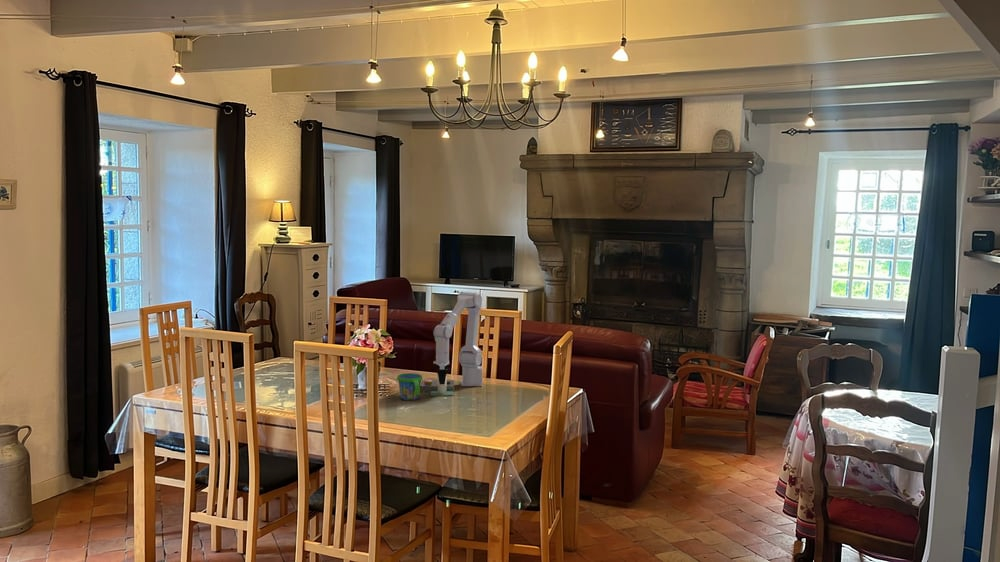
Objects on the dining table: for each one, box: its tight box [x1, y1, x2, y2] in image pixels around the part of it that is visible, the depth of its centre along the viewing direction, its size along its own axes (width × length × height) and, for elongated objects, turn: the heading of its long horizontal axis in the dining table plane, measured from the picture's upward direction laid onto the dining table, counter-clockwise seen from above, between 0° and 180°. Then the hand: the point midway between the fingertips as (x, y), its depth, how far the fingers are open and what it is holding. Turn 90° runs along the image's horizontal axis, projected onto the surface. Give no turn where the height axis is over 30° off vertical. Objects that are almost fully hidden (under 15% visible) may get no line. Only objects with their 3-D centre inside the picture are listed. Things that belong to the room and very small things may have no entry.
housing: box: [420, 379, 455, 393], centre depth 338 cm, size 15×12×2 cm
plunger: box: [423, 379, 433, 384], centre depth 338 cm, size 4×4×3 cm
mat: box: [430, 391, 454, 397], centre depth 328 cm, size 10×6×1 cm, turn 94°
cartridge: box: [437, 374, 448, 394], centre depth 327 cm, size 4×4×9 cm
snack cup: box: [396, 373, 423, 401], centre depth 318 cm, size 16×10×10 cm
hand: (442, 382), depth 327 cm, fingers open, 7 cm apart
